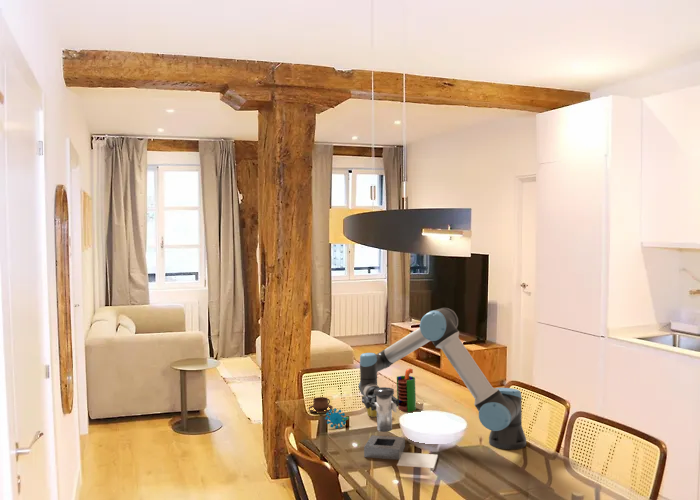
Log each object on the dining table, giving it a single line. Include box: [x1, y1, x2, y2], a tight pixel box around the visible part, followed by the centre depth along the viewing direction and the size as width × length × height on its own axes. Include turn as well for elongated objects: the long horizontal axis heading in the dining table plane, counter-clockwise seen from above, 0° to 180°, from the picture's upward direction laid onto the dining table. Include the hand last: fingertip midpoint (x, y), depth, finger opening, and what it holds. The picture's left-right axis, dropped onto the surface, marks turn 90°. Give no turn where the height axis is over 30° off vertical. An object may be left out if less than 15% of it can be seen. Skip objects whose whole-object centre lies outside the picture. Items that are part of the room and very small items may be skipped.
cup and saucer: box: [308, 396, 334, 414], centre depth 308 cm, size 12×12×6 cm
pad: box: [396, 451, 439, 472], centre depth 238 cm, size 14×14×1 cm
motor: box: [396, 368, 417, 413], centre depth 309 cm, size 10×9×20 cm
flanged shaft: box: [374, 386, 395, 433], centre depth 246 cm, size 8×8×16 cm
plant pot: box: [365, 407, 377, 418], centre depth 300 cm, size 10×10×10 cm
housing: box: [363, 434, 406, 461], centre depth 247 cm, size 14×14×5 cm
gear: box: [324, 408, 349, 429], centre depth 285 cm, size 11×6×10 cm
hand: (387, 409), depth 241 cm, fingers closed on flanged shaft, 6 cm apart
